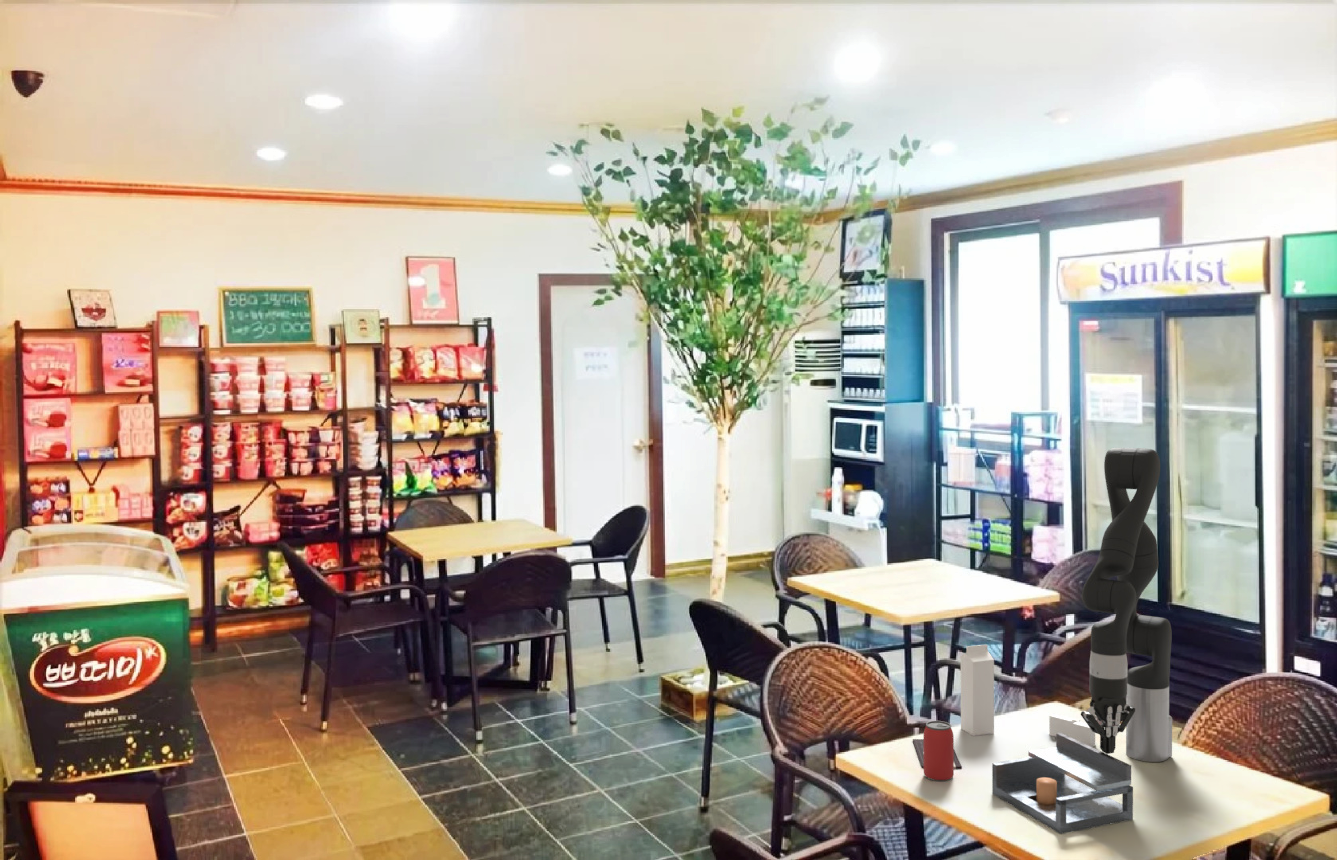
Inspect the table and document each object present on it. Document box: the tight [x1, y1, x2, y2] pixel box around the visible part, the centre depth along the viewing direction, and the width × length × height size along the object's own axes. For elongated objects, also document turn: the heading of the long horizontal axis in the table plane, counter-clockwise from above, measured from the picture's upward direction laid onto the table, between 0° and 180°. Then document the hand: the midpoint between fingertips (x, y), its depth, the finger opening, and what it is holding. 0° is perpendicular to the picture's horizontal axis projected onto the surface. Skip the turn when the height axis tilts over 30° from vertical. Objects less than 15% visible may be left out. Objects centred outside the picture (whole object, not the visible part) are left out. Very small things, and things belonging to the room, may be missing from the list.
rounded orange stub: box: [1037, 777, 1057, 807], centre depth 232 cm, size 4×4×6 cm
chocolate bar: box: [912, 738, 962, 770], centre depth 265 cm, size 9×1×18 cm
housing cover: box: [1028, 733, 1132, 791], centre depth 234 cm, size 9×21×4 cm, turn 20°
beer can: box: [923, 720, 955, 782], centre depth 251 cm, size 7×7×12 cm
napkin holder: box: [1048, 713, 1096, 748], centre depth 272 cm, size 15×11×6 cm
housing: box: [991, 756, 1134, 835], centre depth 233 cm, size 18×22×7 cm
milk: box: [960, 644, 995, 737], centre depth 280 cm, size 6×6×22 cm
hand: (1107, 752), depth 237 cm, fingers closed
